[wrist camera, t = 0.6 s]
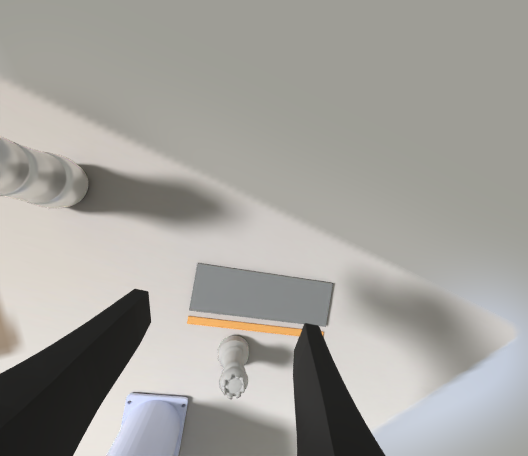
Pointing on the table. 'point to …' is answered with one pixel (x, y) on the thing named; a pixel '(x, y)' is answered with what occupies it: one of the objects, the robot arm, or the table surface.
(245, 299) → the mat
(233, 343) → the rook chess piece
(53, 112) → the table surface
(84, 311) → the table surface
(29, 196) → the plastic bottle
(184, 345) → the table surface
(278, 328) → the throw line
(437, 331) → the table surface
